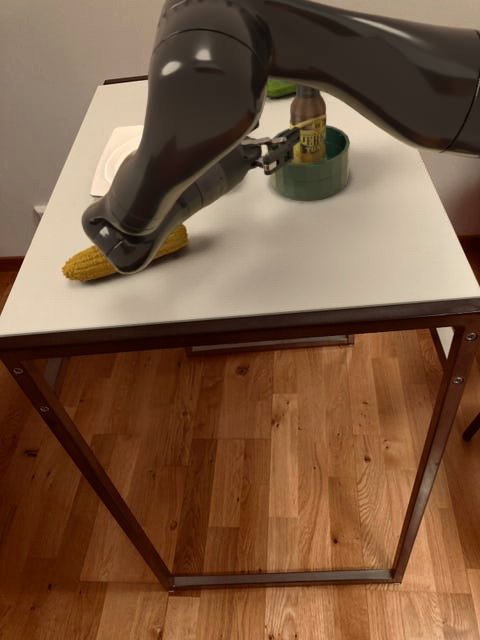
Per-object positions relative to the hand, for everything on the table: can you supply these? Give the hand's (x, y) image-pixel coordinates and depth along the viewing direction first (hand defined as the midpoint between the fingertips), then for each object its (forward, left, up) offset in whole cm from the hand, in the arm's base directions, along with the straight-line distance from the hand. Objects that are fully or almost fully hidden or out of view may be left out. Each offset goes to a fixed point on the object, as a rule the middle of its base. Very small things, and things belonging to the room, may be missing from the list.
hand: (277, 125), depth 81 cm
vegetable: (+7, -43, -14) cm, 46 cm away
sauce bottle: (-3, -7, -14) cm, 16 cm away
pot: (-3, -7, -14) cm, 16 cm away
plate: (+27, -9, -14) cm, 32 cm away
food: (+21, +21, -14) cm, 33 cm away
